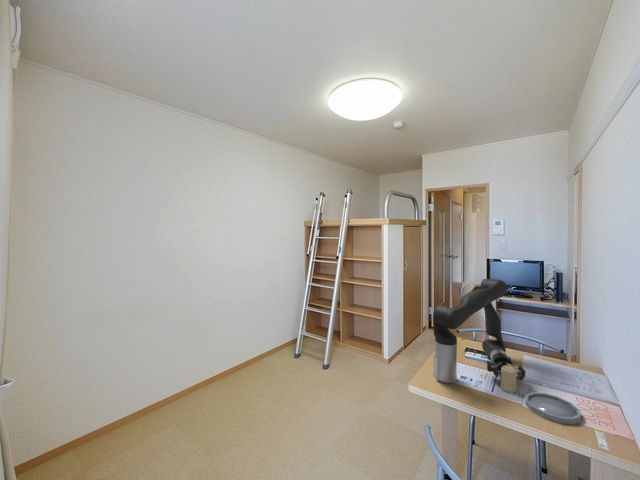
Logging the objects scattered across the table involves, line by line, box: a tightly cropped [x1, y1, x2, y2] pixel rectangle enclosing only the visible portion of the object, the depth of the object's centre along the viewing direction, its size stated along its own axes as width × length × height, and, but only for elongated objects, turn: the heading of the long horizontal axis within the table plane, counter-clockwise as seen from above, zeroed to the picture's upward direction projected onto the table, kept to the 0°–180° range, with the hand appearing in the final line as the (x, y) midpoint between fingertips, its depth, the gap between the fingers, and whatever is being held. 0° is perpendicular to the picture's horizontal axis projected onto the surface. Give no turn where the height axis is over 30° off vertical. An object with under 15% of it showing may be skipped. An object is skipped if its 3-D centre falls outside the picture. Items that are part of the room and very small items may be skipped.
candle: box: [500, 365, 517, 393], centre depth 122 cm, size 6×6×10 cm
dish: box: [524, 391, 582, 425], centre depth 108 cm, size 16×16×2 cm
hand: (509, 376), depth 121 cm, fingers open, 8 cm apart
